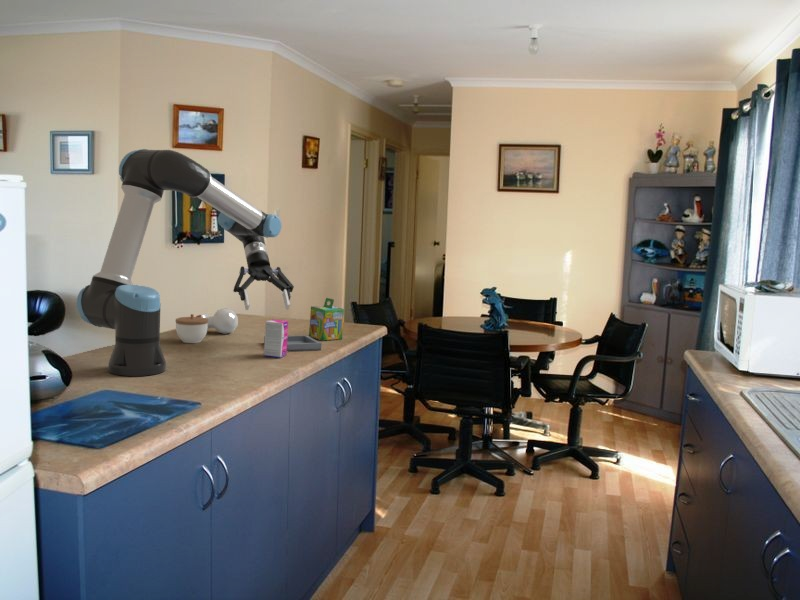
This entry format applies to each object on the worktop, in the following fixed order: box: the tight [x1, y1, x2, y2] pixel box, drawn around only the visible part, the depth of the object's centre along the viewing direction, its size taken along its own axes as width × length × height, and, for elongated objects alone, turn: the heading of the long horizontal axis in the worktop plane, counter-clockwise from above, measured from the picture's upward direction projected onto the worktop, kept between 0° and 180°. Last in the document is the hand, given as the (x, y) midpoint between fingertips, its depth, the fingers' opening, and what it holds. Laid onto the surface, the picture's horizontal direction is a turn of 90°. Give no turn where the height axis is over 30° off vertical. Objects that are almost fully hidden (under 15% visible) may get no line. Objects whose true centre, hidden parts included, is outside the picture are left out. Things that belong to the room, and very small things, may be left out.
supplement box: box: [263, 319, 289, 359], centre depth 233 cm, size 6×6×12 cm
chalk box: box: [308, 297, 345, 342], centre depth 268 cm, size 9×9×15 cm
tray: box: [263, 334, 322, 352], centre depth 250 cm, size 15×15×2 cm
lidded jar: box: [175, 313, 209, 344], centre depth 249 cm, size 11×11×9 cm
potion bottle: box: [195, 307, 239, 335], centre depth 268 cm, size 9×10×15 cm
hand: (268, 307), depth 241 cm, fingers open, 13 cm apart
